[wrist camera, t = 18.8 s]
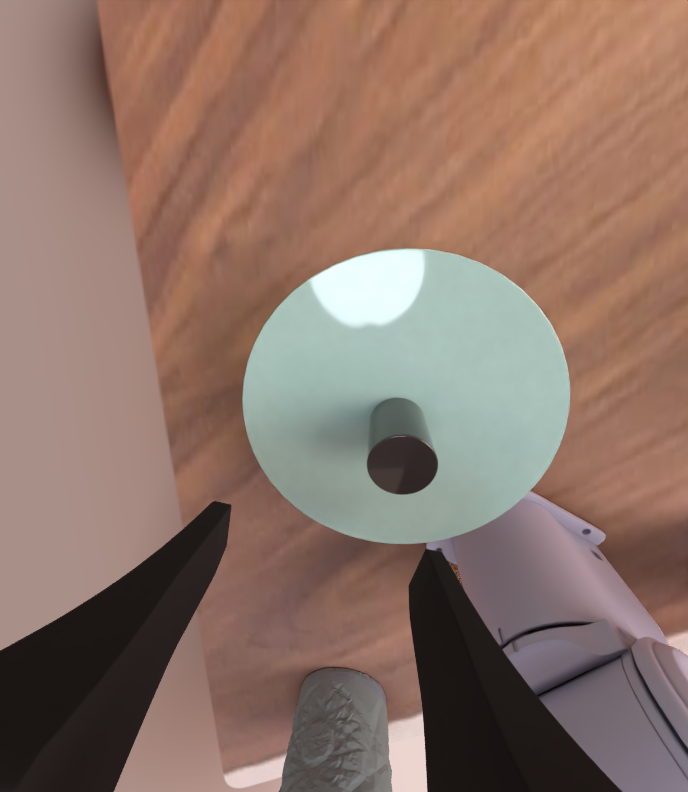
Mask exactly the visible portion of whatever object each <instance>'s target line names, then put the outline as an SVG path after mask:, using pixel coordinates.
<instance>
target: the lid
mask: <svg viewBox="0 0 688 792" xmlns="http://www.w3.org/2000/svg"><path fill="white" fill-rule="evenodd" d="M242 403H243V416H244V422H245V427H246V432H247V436H248V439H249V442H250V445H251V447H252V450H253V453H254V455H255V457H256V459H257V461H258V463H259V465H260V466H261V468H262V470H263V471H264V473H265V474H266V476H267V477H268V479H269V480H270V482H271V483H272V484H273V485H274V486H275V488H276V489H277V490H278V491H279V492H280V493H281V494H282V496H284V497H285V498H286V499H287V500H288V501H289V502H290V503H291V504H292V505H293V506H294V507H296V508H297V509H298V510H300V511H301V512H303V513H304V514H305V515H307V516H308V517H310V518H311V519H313V520H315V521H317V522H318V523H320V524H322V525H324V526H326V527H328V528H330V529H333V530H335V531H337V532H339V533H342V534H345V535H348V536H352V537H355V538H358V539H363V540H368V541H372V542H380V543H388V544H416V543H428V542H433V541H438V540H444V539H448V538H451V537H454V536H458V535H461V534H464V533H467V532H469V531H472V530H474V529H476V528H479V527H481V526H483V525H485V524H487V523H488V522H490V521H492V520H494V519H496V518H497V517H499V516H500V515H502V514H503V513H505V512H506V511H508V510H509V509H510V508H512V507H513V506H514V505H515V504H516V503H518V502H519V501H520V500H521V499H522V498H523V497H524V496H526V495H527V494H528V492H529V491H530V490H531V489H532V488H533V487H534V486H535V485H536V483H537V482H538V481H539V480H540V479H541V477H542V476H543V474H544V473H545V471H546V470H547V468H548V467H549V466H550V464H551V462H552V460H553V458H554V456H555V454H556V452H557V450H558V448H559V446H560V443H561V440H562V437H563V435H564V432H565V429H566V424H567V419H568V413H569V408H570V382H569V374H568V366H567V362H566V359H565V356H564V352H563V349H562V345H561V343H560V341H559V339H558V337H557V335H556V333H555V331H554V329H553V326H552V324H551V323H550V322H549V320H548V319H547V317H546V316H545V314H544V313H543V312H542V310H541V309H540V307H539V306H538V305H537V304H536V303H535V302H534V301H533V300H532V299H531V298H530V297H529V296H528V295H527V294H526V292H525V291H524V290H523V289H522V288H520V287H519V286H518V285H516V284H515V283H513V282H512V281H511V280H509V279H508V278H507V277H505V276H504V275H503V274H501V273H499V272H497V271H495V270H494V269H492V268H490V267H488V266H486V265H484V264H482V263H480V262H478V261H475V260H472V259H469V258H466V257H463V256H461V255H458V254H454V253H448V252H443V251H438V250H433V249H417V248H399V249H389V250H379V251H375V252H371V253H367V254H362V255H358V256H355V257H352V258H349V259H347V260H344V261H342V262H339V263H337V264H334V265H332V266H330V267H328V268H326V269H325V270H323V271H321V272H319V273H318V274H316V275H314V276H312V277H311V278H309V279H308V280H307V281H305V282H304V283H303V284H302V285H300V286H299V287H298V288H296V289H295V290H294V291H292V292H291V294H290V295H289V296H288V297H287V298H286V299H285V300H284V301H283V302H282V303H281V304H280V305H279V306H278V307H277V308H276V309H275V311H274V312H273V313H272V315H271V316H270V317H269V319H268V320H267V322H266V323H265V324H264V326H263V328H262V330H261V332H260V333H259V335H258V337H257V339H256V341H255V343H254V345H253V348H252V351H251V354H250V356H249V359H248V362H247V367H246V371H245V376H244V381H243V396H242Z"/></svg>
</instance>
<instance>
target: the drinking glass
mask: <svg viewBox="0 0 688 792" xmlns="http://www.w3.org/2000/svg"><path fill="white" fill-rule="evenodd" d="M391 775H392V770H391V766H390V762H389V745H388V721H387V709H386V698H385V694H384V691H383V689H382V687H381V686H380V684H379V683H377V682H376V681H375V680H374V679H373V678H371V677H369V675H366V674H362V673H361V672H357V671H355V670H351V669H345V668H325V669H320V670H317V671H315V672H313V673H311V674H310V675H309V676H307V678H306V679H305V680H304V682H303V685H302V687H301V691H300V695H299V699H298V704H297V708H296V713H295V717H294V722H293V733H292V735H291V738H290V742H289V746H288V750H287V756H286V759H285V763H284V768H283V774H282V786H281V788H280V791H279V792H392V785H391Z"/></svg>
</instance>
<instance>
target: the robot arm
mask: <svg viewBox="0 0 688 792" xmlns="http://www.w3.org/2000/svg"><path fill="white" fill-rule="evenodd" d="M230 512H231V505H230V504H225V503H221V502H216V501H214V502H212V503H211V504H210V505H209V506H208V507H207V508H206V509H204V510H203V511H202V512H201V513H200V514H199V515H198V516H197V517H196V518H195V519H194V520H193V521H192V522H191V523H189V524H188V525H187V526H186V527H185V528H184V529H183V530H182V531H180V532H179V533H178V534H177V535H176V536H175V537H173V538H172V539H171V540H170V541H169V542H167V543H166V544H165V545H164V546H163V547H162V548H160V549H159V550H158V551H156V552H155V553H154V554H153V555H151V556H150V557H149V558H147V559H146V560H145V561H143V562H142V563H141V564H140V565H138V566H137V567H136V568H134V569H133V570H132V571H130V572H129V573H127V574H126V575H125V576H123V577H122V578H121V579H119V580H118V581H116V582H115V583H113V584H112V585H110V586H109V587H107V588H106V589H104V590H103V591H101V592H100V593H98V594H97V595H95V596H94V597H92V598H91V599H89V600H87V601H86V602H84V603H83V604H81V605H80V606H78V607H76V608H75V609H73V610H72V611H70V612H68V613H67V614H65V615H63V616H62V617H60V618H58V619H57V620H55V621H53V622H52V623H50V624H48V625H46V626H44V627H43V628H41V629H39V630H37V631H35V632H33V633H32V634H30V635H28V636H26V637H24V638H23V639H21V640H19V641H17V642H15V643H14V644H12V645H10V646H8V647H6V648H4V649H3V650H1V651H0V792H113V791H114V790H115V787H116V785H117V782H118V780H119V777H120V775H121V772H122V770H123V768H124V765H125V763H126V760H127V758H128V756H129V753H130V751H131V748H132V746H133V744H134V741H135V739H136V737H137V734H138V732H139V730H140V727H141V725H142V723H143V720H144V718H145V716H146V713H147V711H148V709H149V706H150V704H151V701H152V699H153V697H154V695H155V692H156V690H157V688H158V685H159V683H160V681H161V679H162V676H163V674H164V672H165V670H166V667H167V665H168V663H169V661H170V659H171V657H172V655H173V652H174V650H175V648H176V646H177V644H178V642H179V641H180V639H181V637H182V635H183V633H184V631H185V629H186V628H187V626H188V624H189V622H190V620H191V618H192V616H193V614H194V613H195V611H196V609H197V607H198V605H199V603H200V601H201V600H202V598H203V596H204V594H205V592H206V590H207V588H208V586H209V584H210V583H211V581H212V579H213V577H214V575H215V573H216V570H217V568H218V565H219V563H220V561H221V558H222V556H223V553H224V551H225V548H226V546H227V538H228V529H229V521H230ZM584 529H585V530H584ZM605 537H606V536H605V534H604V533H603V532H602V531H601V530H600V529H598V528H597V527H595V526H593V525H591V524H589V523H588V522H586V521H584V520H582V519H580V518H579V517H577V516H575V515H573V514H572V513H570V512H568V511H566V510H564V509H563V508H561V507H559V506H557V505H555V504H554V503H552V502H550V501H548V500H547V499H545V498H543V497H541V496H539V495H538V494H536V493H534V492H532V491H529V492H528V494H527V495H526V496H524V497H523V498H522V499H521V500H520V501H519V502H518V503H516V504H515V505H514V506H513V507H512V508H510V509H509V510H508V511H506V512H505V513H503V514H502V515H500V516H499V517H497V518H496V519H494V520H492V521H490V522H488V523H487V524H485V525H483V526H481V527H479V528H476V529H474V530H472V531H469V532H467V533H464V534H461V535H458V536H454V537H451V538H448V539H444V540H438V541H433V542H428V543H426V548H427V549H426V550H425V552H424V554H423V556H422V559H421V561H420V563H419V565H418V567H417V569H416V571H415V573H414V576H413V578H412V580H411V582H410V584H409V610H410V622H411V630H412V637H413V644H414V651H415V657H416V664H417V671H418V678H419V685H420V691H421V700H422V708H423V721H424V736H425V750H426V771H427V789H428V792H688V656H687V655H686V654H684V653H683V652H681V651H680V650H678V649H676V648H674V647H671V646H669V644H668V642H667V640H666V638H665V636H664V634H663V632H662V630H661V629H660V627H659V626H658V625H657V623H656V622H655V621H654V619H653V618H652V617H651V616H650V614H649V613H648V612H647V610H646V609H645V608H644V607H643V605H642V604H641V603H640V601H639V600H638V599H637V598H636V596H635V595H634V594H633V592H632V591H631V590H630V589H629V587H628V586H627V585H626V583H625V582H624V581H623V580H622V578H621V577H620V576H619V574H618V573H617V572H616V571H615V569H614V568H613V567H612V565H611V564H610V563H609V562H608V560H607V559H606V558H605V556H604V555H603V554H602V553H601V551H600V550H599V549H598V547H597V546H598V545H599V544H600V543H602V542H603V541H604V540H605ZM437 548H440V549H437ZM448 561H449V562H451V563H453V564H455V565H457V566H458V570H459V574H460V578H461V581H462V585H463V587H462V585H461V584H460V582H459V580H458V579H457V577H456V575H455V573H454V572H453V570H452V568H451V566H450V565H449V563H448Z"/></svg>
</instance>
